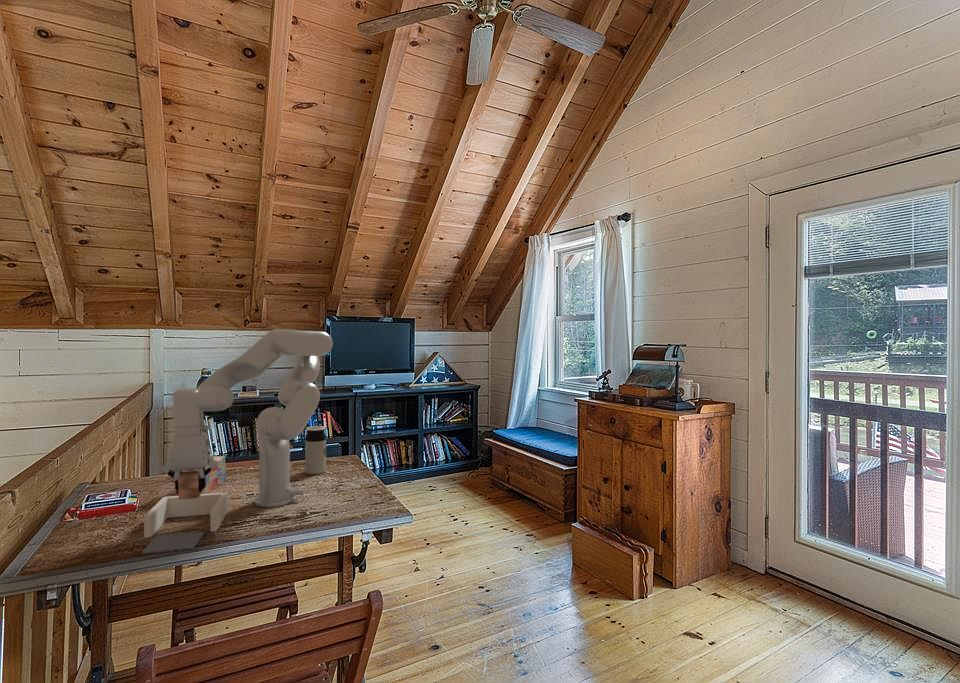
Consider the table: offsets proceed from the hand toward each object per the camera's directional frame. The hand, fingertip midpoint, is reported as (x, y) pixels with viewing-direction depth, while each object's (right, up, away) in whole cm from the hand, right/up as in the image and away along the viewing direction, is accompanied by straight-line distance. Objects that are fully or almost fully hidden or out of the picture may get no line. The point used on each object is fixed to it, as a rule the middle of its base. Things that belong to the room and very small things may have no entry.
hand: (190, 490), depth 145 cm
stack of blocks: (-14, -9, +31) cm, 35 cm away
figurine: (+6, -9, +55) cm, 56 cm away
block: (0, -2, 0) cm, 2 cm away
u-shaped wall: (-1, -10, +1) cm, 10 cm away
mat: (+3, -10, -13) cm, 17 cm away
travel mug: (+19, -9, +54) cm, 58 cm away
